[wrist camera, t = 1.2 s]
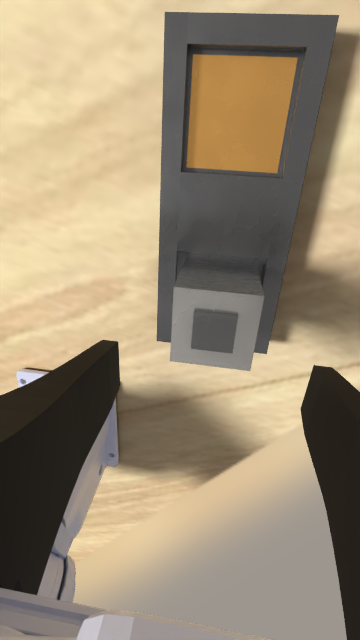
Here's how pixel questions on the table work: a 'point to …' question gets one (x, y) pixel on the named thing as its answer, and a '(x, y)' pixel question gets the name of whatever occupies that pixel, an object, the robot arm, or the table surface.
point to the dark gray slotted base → (236, 142)
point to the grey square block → (216, 313)
